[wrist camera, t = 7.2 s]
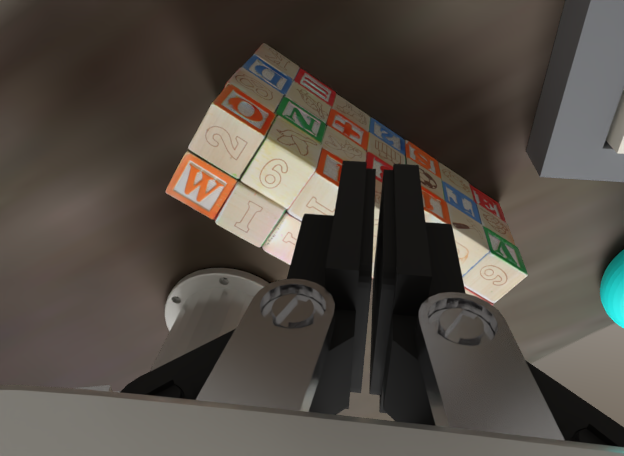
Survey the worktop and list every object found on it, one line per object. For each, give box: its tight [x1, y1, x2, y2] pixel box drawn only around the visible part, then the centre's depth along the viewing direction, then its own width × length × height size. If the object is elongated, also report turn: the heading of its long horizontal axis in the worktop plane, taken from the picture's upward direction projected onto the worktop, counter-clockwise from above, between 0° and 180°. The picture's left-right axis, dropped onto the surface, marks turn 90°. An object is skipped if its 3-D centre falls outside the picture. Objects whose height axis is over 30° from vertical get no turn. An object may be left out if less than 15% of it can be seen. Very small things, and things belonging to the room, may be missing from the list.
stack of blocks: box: [165, 43, 527, 306], centre depth 33 cm, size 21×6×12 cm, turn 58°
